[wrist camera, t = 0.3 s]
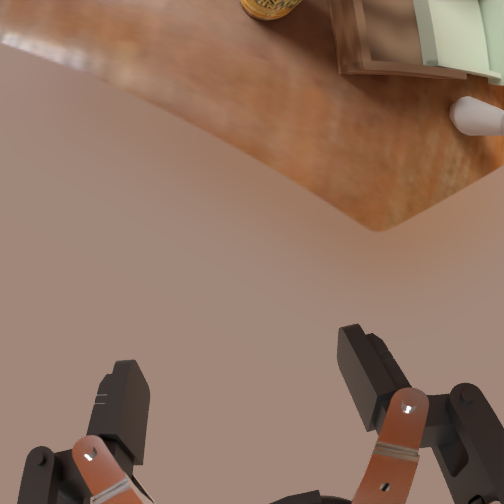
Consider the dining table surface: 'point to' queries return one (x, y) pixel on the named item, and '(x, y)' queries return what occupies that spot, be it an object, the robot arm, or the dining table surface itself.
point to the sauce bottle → (268, 8)
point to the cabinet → (381, 39)
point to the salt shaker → (476, 117)
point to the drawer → (463, 36)
